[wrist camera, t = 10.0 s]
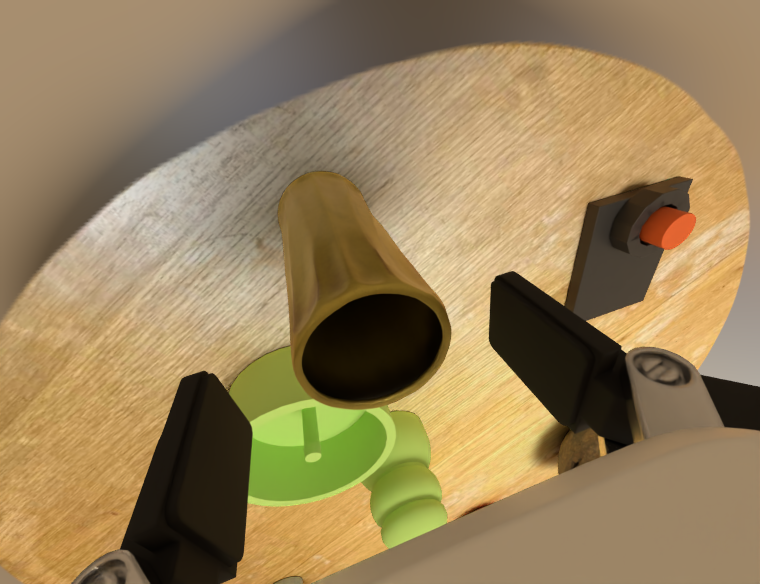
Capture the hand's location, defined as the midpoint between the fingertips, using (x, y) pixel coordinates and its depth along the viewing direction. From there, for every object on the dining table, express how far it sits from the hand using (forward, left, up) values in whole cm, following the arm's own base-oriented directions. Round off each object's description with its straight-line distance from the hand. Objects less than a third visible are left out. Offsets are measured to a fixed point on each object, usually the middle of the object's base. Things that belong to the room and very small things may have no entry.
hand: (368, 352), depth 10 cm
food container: (+22, -4, -14) cm, 26 cm away
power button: (+7, +28, -11) cm, 31 cm away
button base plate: (+12, +28, -14) cm, 34 cm away
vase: (0, 0, -14) cm, 14 cm away
